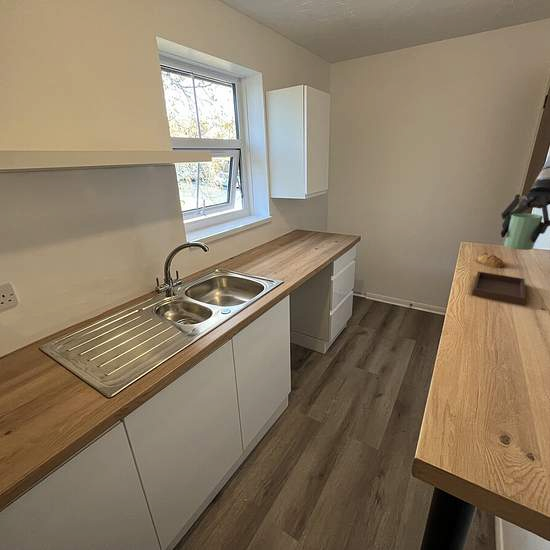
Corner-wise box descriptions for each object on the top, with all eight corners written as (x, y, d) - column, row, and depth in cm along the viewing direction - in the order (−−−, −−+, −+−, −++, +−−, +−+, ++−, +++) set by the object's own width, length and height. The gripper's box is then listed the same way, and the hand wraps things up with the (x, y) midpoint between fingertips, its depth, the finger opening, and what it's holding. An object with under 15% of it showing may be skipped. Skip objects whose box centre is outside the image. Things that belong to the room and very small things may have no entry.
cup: (524, 243, 110) (533, 213, 105) (538, 250, 102) (548, 218, 98) (499, 243, 111) (507, 213, 107) (511, 249, 104) (519, 218, 99)
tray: (476, 278, 113) (478, 271, 112) (522, 286, 105) (524, 278, 104) (471, 296, 100) (473, 288, 99) (523, 306, 92) (525, 298, 91)
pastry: (507, 266, 121) (510, 258, 120) (495, 269, 120) (497, 260, 118) (486, 259, 130) (488, 251, 128) (474, 261, 128) (476, 253, 126)
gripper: (587, 194, 100) (556, 250, 98) (512, 189, 116) (485, 237, 114) (589, 179, 95) (556, 237, 93) (510, 176, 111) (481, 226, 109)
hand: (517, 237), depth 103 cm, fingers closed on cup, 8 cm apart
